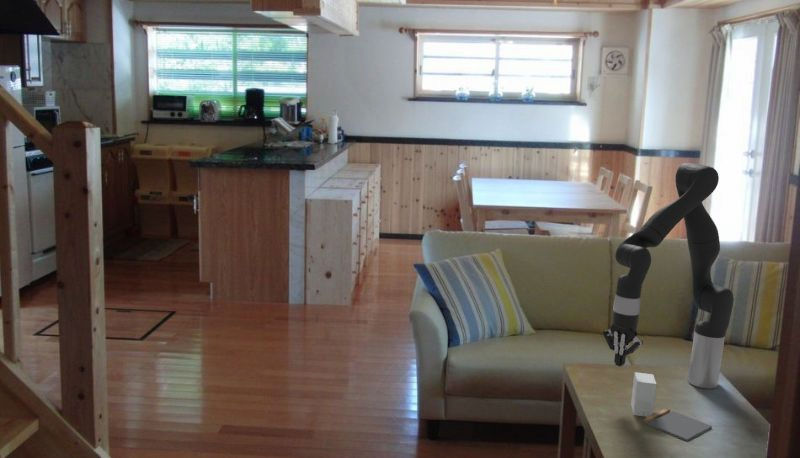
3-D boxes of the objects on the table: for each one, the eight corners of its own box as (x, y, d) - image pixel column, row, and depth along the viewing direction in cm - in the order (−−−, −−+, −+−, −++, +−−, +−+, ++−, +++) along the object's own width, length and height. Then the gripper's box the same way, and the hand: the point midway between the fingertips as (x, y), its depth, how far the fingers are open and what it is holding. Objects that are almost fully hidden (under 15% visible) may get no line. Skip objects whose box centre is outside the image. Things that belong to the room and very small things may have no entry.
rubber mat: (672, 412, 227) (673, 410, 226) (711, 427, 218) (711, 426, 218) (647, 424, 217) (647, 422, 217) (686, 441, 209) (687, 439, 209)
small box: (652, 418, 222) (657, 384, 220) (632, 415, 223) (637, 381, 221) (649, 407, 230) (653, 374, 228) (630, 404, 231) (634, 371, 229)
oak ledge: (666, 411, 227) (666, 407, 227) (669, 413, 226) (670, 409, 226) (644, 421, 219) (644, 418, 219) (648, 423, 218) (648, 419, 218)
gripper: (652, 314, 225) (645, 370, 228) (614, 302, 235) (607, 356, 238) (639, 318, 220) (631, 375, 223) (600, 306, 230) (593, 360, 233)
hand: (619, 365), depth 231 cm, fingers closed
